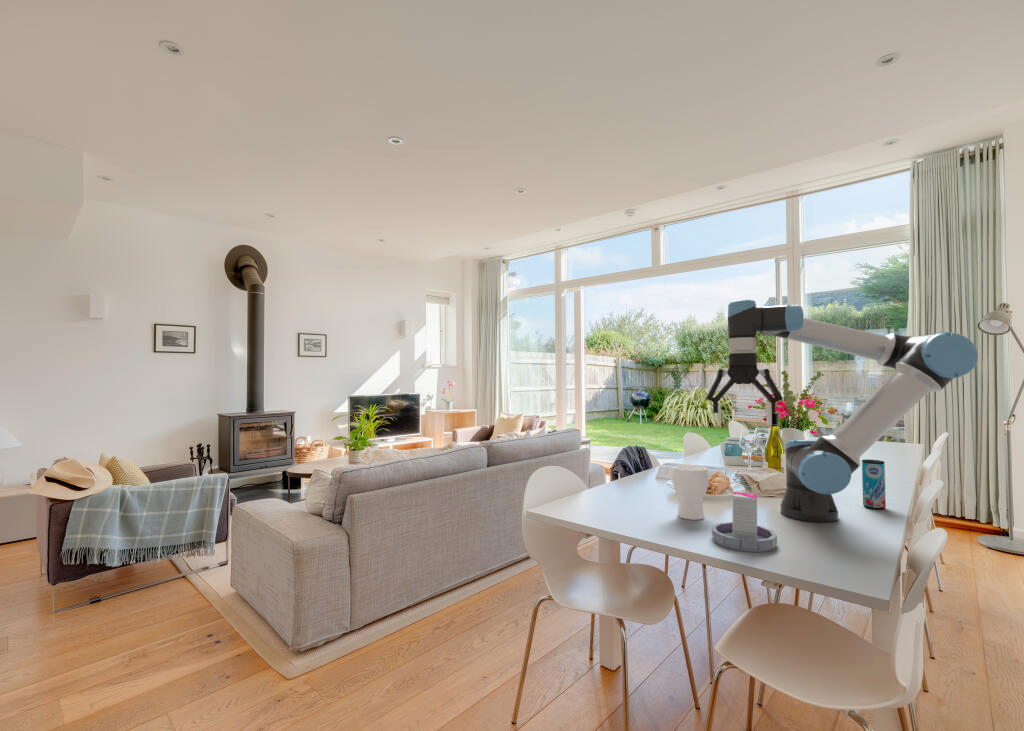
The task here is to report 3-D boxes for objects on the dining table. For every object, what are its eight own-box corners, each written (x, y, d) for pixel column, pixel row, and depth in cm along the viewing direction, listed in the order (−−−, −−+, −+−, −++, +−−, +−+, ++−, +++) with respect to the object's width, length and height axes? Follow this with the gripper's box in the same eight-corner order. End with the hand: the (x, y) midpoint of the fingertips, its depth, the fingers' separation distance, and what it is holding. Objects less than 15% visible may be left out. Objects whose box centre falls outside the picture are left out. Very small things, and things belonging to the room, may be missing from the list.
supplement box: (758, 543, 123) (757, 498, 123) (732, 540, 126) (731, 496, 126) (757, 536, 128) (756, 493, 129) (732, 534, 131) (731, 491, 131)
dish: (767, 534, 132) (767, 524, 132) (783, 554, 118) (783, 542, 118) (708, 530, 136) (708, 520, 136) (716, 549, 122) (716, 538, 122)
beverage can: (863, 508, 157) (862, 461, 157) (862, 504, 162) (861, 458, 162) (886, 511, 153) (885, 463, 154) (885, 506, 158) (883, 460, 159)
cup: (712, 522, 144) (711, 471, 144) (675, 520, 146) (674, 470, 146) (705, 512, 154) (705, 464, 155) (670, 510, 156) (670, 463, 157)
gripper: (785, 352, 145) (787, 423, 144) (696, 354, 151) (697, 422, 151) (793, 351, 138) (794, 426, 137) (699, 353, 144) (700, 425, 144)
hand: (743, 424), depth 144 cm, fingers open, 13 cm apart
